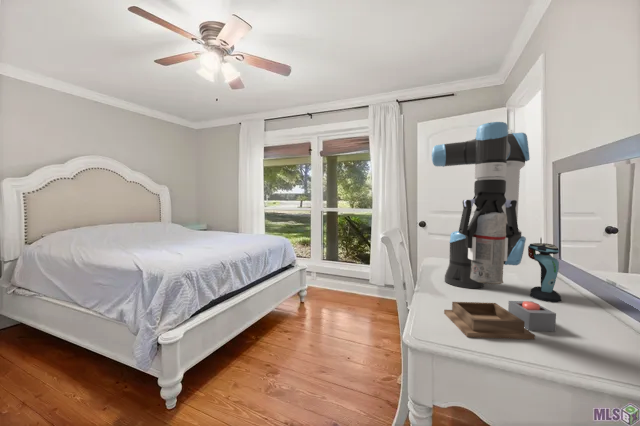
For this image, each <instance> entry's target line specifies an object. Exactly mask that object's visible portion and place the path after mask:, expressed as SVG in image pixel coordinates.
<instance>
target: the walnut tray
mask: <svg viewBox="0 0 640 426" xmlns="http://www.w3.org/2000/svg"><path fill="white" fill-rule="evenodd" d="M451 304H452V305H451V309H444V310H443V314H444V315H445V316H446V317H447V318H448V319H449V320H450V322H452V323H453V324H454V325H455V326H456V327H457V328H458V329H459V330H460V331H461V332H462V333H463V334H464V335H465V336H466V338H479V339H480V338H481V339H482V338H483V339H506V340H507V339H508V340H509V339H510V340H511V339H512V340H513V339H514V340H536V339H535V337H536V335H535V334H534V333H532V332H531V331H529V330H527V329H526V328H524V324H525V322H524V321H523V320H521V319H520V318H518V317H517V316H515V315H513V314H512V313H510V312H509V311H508V309H505V308H504V307H502V306H501V305H499V304H498V303H496V302H478V301H475V302H473V301H472V302H471V301H469V302H468V301H452V303H451Z"/></svg>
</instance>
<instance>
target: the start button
mask: <svg viewBox="0 0 640 426" xmlns="http://www.w3.org/2000/svg"><path fill="white" fill-rule="evenodd" d="M529 301H530V300H528V301H527V300H526V301H524V302H523V304H522V307H524V308H526V309H527V310H540V306H541V304H539V303H536V302H534V301H532V302H529Z"/></svg>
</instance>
